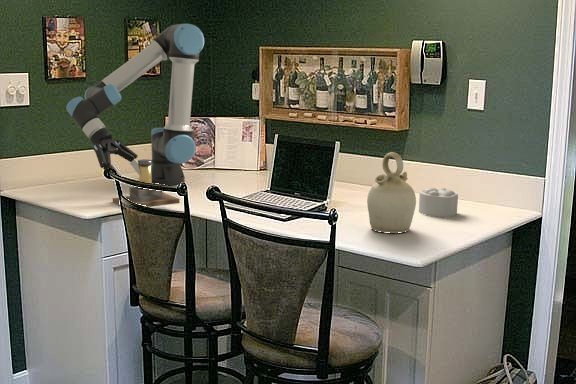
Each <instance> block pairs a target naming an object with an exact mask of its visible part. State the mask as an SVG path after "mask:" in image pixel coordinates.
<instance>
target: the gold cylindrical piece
mask: <svg viewBox="0 0 576 384" xmlns="http://www.w3.org/2000/svg"><path fill="white" fill-rule="evenodd" d="M137 161H138V165H139V174H138V181H140V182H145V183H152V174H151V166H152V159H148V158H147V159H146V158H145V159H138V160H137ZM140 189H141V190H145V189H143V188H140Z"/></svg>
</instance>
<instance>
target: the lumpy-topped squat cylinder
mask: <svg viewBox="0 0 576 384" xmlns="http://www.w3.org/2000/svg"><path fill="white" fill-rule="evenodd" d="M418 195H419V198H418V213H419V212H420V214H421V213H423V214H422V215H424V214H426V215H425V216H428V215H431V216H430V217H434V216H439V217H438V218H443V217H449V218H452V217H454V216H456V214H458V204H459V203H458V202H459V201H458V200H459V194H458V193H457V192H454V191H453V190H452V189H451V190H450V189H447V188H445V187H440V188H438V189H437V188H436V187H429V188H427V189H423V190H420V192H419V194H418ZM453 215H454V216H453Z"/></svg>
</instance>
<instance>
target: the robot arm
mask: <svg viewBox="0 0 576 384" xmlns="http://www.w3.org/2000/svg"><path fill="white" fill-rule="evenodd" d="M204 45H205V37H204V33H203V32H202V30H201V29H200V28H199V27H198V26H196V25H195V24H190V23H175V24H172V25H170V26H168V27H167V28H165V29H164V30H163V31H162V32H160V33H159V34H158V35H157V36H155V37H154V38H153V39H151V40H150V44H149V45H148V46H147V47H145V48H144V49H142V50H141V51H140V52H138V53H137V54H136V55H134V56H133V57H131V58H130V59H129V60H128V61H125V63H124V64H122V65H121V66H120V67H118V68H116V69H115V70H114V71H113V72H111V73H110V74H109V75H107V76H106V77H105V78H103V79H101V80H100V81H99V82H97V83H96V84H95V85H93V86H89V87H87V89H85V92H84V98H83V97H82V96H76V97H73V98H72V99H71V100H70V101H69V102H68V103H67V105H66V106H65V107H66V111H67V112H68V114H69V115H70V116H71V118H72V120H73V121H74V122H75V123H76V125H77V126H78V127H79V128H80V129H81V131H82V132H83V133H84V135H85V136H86V137H87V138H88V139H89V141H90V142H91V143H92V145H93V146H92V149H93V151H94V153H95V155H96V158H97V160H98V161H97V162H98V164H99V166H100V168H101V169H103V170H105V171H107V170H108V168H112V169H114V170H115V171H116V173H117V174H118V175H119V176H121V177H124V176H123V175H122V173H121V171H120V170H119V169H118V168H117V167H116V166H115V164H114V163H112V160H111V155H116V156H117V155H118V156H119V157H121V158H122V159H125V161H128V162H129V164H130V165H131V167H132V168H133V169H134V171H135V172H136V173H137V175H139V165H138V160H137V158H138V157H139V156H138V154H137V153H136V152H134V151H133V150H132V149H130V148H129V147H128V146H127V145H125V144H124V143H123V142H122V141H121V140H120V139H118V138H117V139H116V140H113V137H112V136H113V135H112V133H111V132H110V130H109V129H108V128H107V127H106V125H105V124H104V122H102V121H101V119H100V118H99V115H101V114H102V113H104V112H106V111H107V110H108V109H111V108H112V107H114V106H115V105H117V104H118V103H119V102H121V100H122V95H121V93H120V92H121V91H122V90H124V89H125V88H126V87H128V86H129V85H131V84H132V83H133V82H135V81H136V80H137V79H138V78H140V77H142V76H143V75H144V74H145V73H147V72H148V71H149V70H150V69H152V68H153V67H155V66H156V65H158V64H159V63H160V62H161V61H167V60H170V61H171V62H172V63H171V78H170V89H169V91H170V92H169V102H168V103H169V105H168V114H167V115H168V116H167V117H168V118H167V123H166V124H165V125H164V127H154V128H152V129H151V132H150V134H151V135H150V138H151V140H150V141H151V160H152V165H151V174H152V183H159V184H165V185H164V186H177V185H176V184H178V185H180V184H179V183H181V182H184V183H185V182H186V181H185V179H186V176H185V175H184V171H183V168H182V165H181V164H186V163H188V162H189V161H190V160H192V159H193V157H194V155H195V153H196V148H197V147H196V142H195V141H194V139H193V134H194V129H193V128H192V127H191V115H192V114H191V112H192V100H193V88H194V77H195V76H194V74H195V65H196V64H197V63H198V62H199V61H200V60H199V59H200V52H201V51H202V50H203V48H204Z"/></svg>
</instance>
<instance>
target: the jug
mask: <svg viewBox="0 0 576 384" xmlns="http://www.w3.org/2000/svg"><path fill="white" fill-rule="evenodd" d="M390 158H392V159H394V160H395V162H396V170H395V171H392V170H391V169H390V166H389V161H390ZM381 166H382V169H383V172H384V173H385V174H378V175H377V176H376V177H375V180H374V182H375V183H374V184H373V185H371V187H370V189H369V191H368V194H367V200H366V202H367V211H368V219H369V224H370V228H372V229H373V230H372V229H371V230H372V231H374V230H376V231H381V232H390V233H398V232H405V231H408V230H409V231H410V228H411V225H412V222H413V218H414V214H415V210H416V206H417V200H416V199H417V198H416V194H415V190H414V188H413V187H412V186H411V185H410V184H409V183H408V182H407V180H408V173H407V171H403V170H404V161H403V158H402V156H400V155H399V153H396V152H395V151H394V152H393V151H391V152H388V153H386V154H385V155H384V156H383V159H382V165H381ZM376 231H375V232H376ZM409 231H408V232H409ZM405 233H406V232H405Z"/></svg>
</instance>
